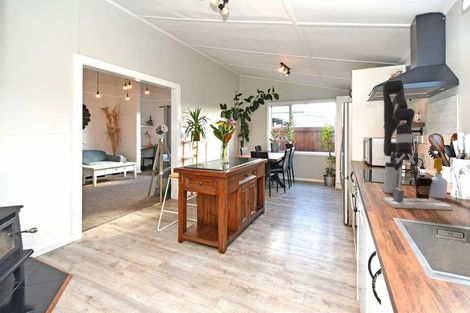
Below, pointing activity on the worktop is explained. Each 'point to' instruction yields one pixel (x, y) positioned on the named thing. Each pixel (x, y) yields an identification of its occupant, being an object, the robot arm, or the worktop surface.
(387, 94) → the robot arm
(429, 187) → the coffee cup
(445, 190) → the soap bottle
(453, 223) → the worktop surface
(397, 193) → the fader cap
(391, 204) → the console board
